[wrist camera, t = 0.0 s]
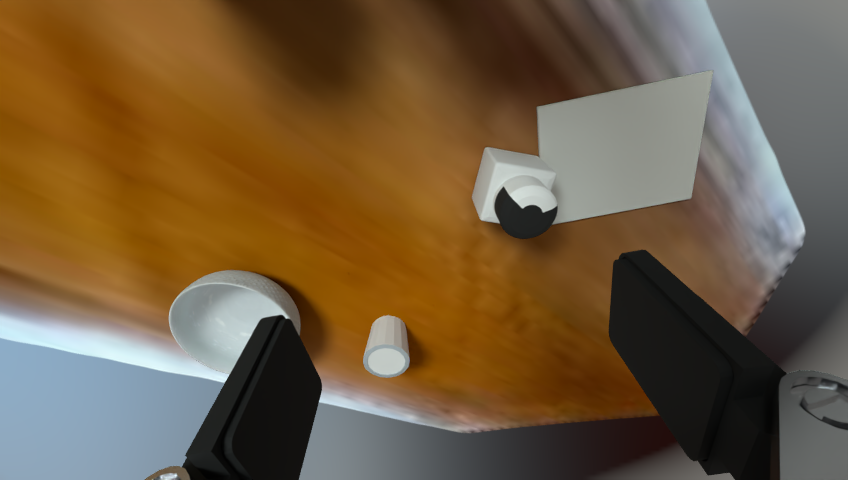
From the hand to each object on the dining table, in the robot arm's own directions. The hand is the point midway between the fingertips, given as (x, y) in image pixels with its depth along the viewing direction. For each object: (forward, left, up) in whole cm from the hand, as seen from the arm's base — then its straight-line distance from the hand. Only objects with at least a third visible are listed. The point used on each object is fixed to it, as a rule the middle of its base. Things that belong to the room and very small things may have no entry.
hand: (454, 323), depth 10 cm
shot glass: (+32, -12, -37) cm, 50 cm away
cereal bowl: (+22, -31, -37) cm, 53 cm away
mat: (+10, +24, -37) cm, 45 cm away
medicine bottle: (+10, +9, -37) cm, 39 cm away
